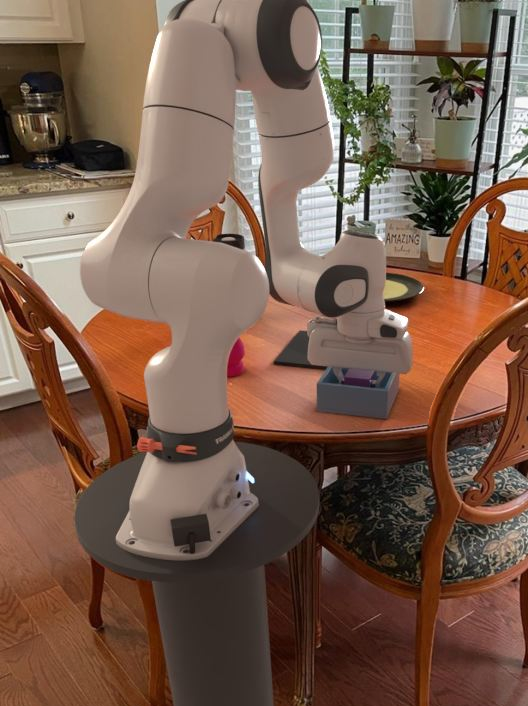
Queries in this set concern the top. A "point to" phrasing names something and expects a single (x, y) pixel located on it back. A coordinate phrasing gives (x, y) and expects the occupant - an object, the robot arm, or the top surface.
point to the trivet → (297, 353)
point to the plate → (401, 287)
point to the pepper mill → (236, 359)
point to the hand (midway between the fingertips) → (359, 388)
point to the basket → (356, 396)
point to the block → (359, 378)
